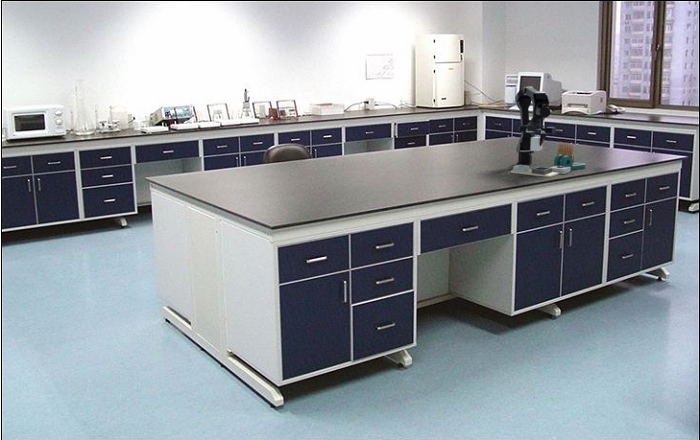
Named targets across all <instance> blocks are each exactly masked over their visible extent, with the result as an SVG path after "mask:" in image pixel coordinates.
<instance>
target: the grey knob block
mask: <svg viewBox="0 0 700 440" xmlns="http://www.w3.org/2000/svg"><path fill="white" fill-rule="evenodd" d="M550 168H552V172H556V173H559V174H560V175H565V174H568V173H571V171H572V170H571V167H564V166H554V165H553V166H551V167H550ZM559 174H558V175H559Z"/></svg>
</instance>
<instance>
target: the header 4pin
mask: <svg viewBox="0 0 700 440" xmlns="http://www.w3.org/2000/svg"><path fill="white" fill-rule="evenodd" d="M531 170H532V173H533V174H542V175H545V174H548V173H551V172H552V168H551V167H546V166H537V167H533V168H532V169H531Z"/></svg>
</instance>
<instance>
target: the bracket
mask: <svg viewBox="0 0 700 440" xmlns="http://www.w3.org/2000/svg"><path fill="white" fill-rule="evenodd" d="M560 160H561V161H560ZM586 165H587V164H586V163H584V162H574V163H573V159H572V157H571V156H565V155H561V154H559V155H557V154H556V156H555V157H554V160H553V167H554V166H564V167H571V171H574V170H575V171H576V170H582V169H583V170H584V169H586Z"/></svg>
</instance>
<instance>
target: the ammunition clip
mask: <svg viewBox="0 0 700 440" xmlns="http://www.w3.org/2000/svg"><path fill="white" fill-rule="evenodd" d="M559 154H561V155H565V156H571V157H572V159H573V163H575V161H574V159H575V158H574V157H575V156H574V143H568V142H563V141H562V142H561V141H559V142H558V149H557V154H556V156H557V155H559ZM560 161H561V160H560Z"/></svg>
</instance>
